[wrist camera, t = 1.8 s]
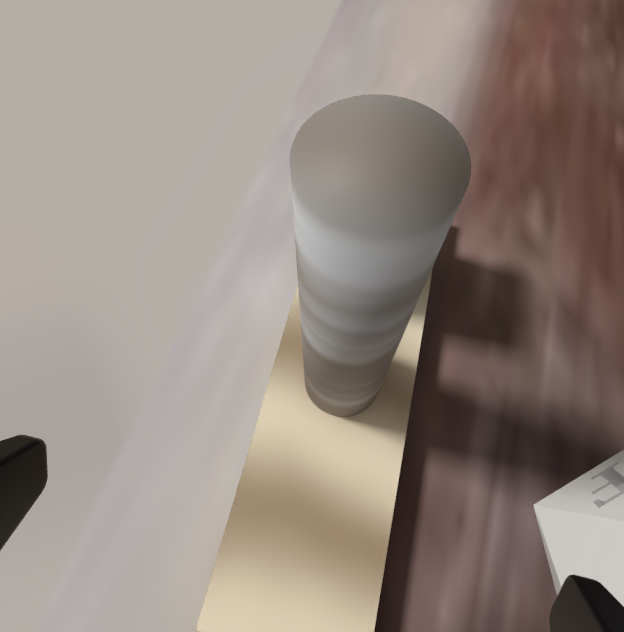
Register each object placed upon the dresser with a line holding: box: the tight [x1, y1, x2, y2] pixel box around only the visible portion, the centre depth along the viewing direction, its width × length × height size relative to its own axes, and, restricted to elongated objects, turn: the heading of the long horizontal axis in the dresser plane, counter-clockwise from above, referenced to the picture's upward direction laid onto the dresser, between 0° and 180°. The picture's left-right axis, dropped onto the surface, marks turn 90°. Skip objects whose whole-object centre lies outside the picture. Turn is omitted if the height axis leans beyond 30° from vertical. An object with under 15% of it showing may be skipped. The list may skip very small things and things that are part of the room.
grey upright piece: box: [196, 94, 471, 632], centre depth 15 cm, size 20×6×14 cm, turn 166°
